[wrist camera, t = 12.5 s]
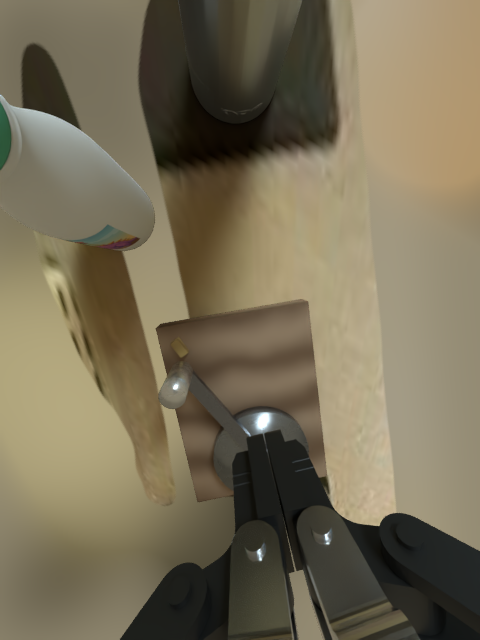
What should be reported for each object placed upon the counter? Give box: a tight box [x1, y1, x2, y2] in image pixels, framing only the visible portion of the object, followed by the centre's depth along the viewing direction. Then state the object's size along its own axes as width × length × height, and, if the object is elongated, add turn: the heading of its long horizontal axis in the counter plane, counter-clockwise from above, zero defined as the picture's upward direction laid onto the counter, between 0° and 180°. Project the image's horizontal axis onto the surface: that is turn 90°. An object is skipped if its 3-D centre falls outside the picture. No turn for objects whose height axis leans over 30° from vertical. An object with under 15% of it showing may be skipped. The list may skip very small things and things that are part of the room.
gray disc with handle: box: [159, 361, 309, 491], centre depth 28 cm, size 22×12×8 cm, turn 38°
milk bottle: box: [0, 94, 155, 251], centre depth 19 cm, size 8×8×20 cm
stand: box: [156, 299, 327, 502], centre depth 33 cm, size 24×18×4 cm
